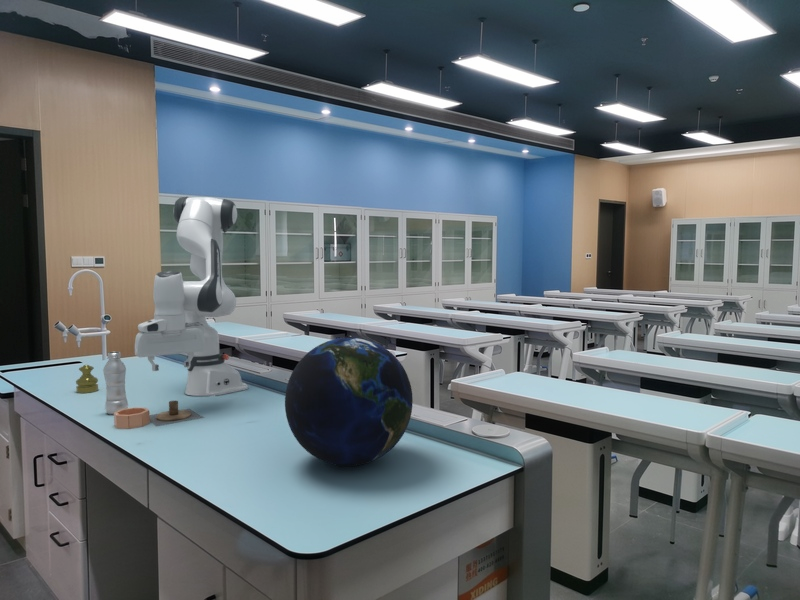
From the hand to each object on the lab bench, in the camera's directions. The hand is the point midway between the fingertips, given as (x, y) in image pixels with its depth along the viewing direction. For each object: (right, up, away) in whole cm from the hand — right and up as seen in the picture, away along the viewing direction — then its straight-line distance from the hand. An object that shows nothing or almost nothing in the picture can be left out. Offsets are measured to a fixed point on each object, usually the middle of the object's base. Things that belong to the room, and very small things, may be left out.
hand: (171, 368), depth 176 cm
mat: (0, -16, +1) cm, 16 cm away
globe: (+58, -18, -38) cm, 72 cm away
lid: (0, -15, +1) cm, 15 cm away
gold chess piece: (-48, -14, +41) cm, 65 cm away
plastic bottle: (-20, -16, +7) cm, 27 cm away
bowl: (-9, -16, -6) cm, 20 cm away
